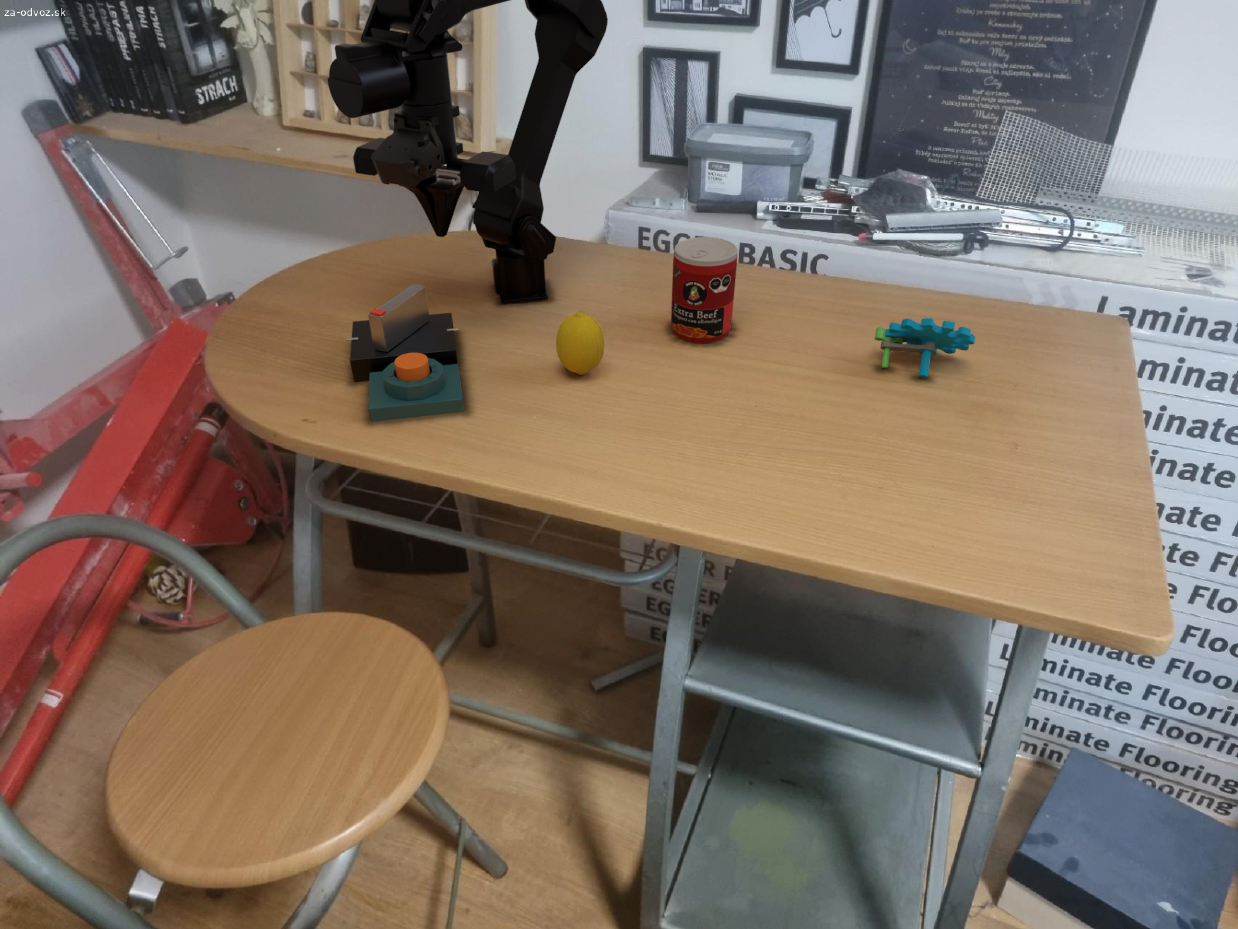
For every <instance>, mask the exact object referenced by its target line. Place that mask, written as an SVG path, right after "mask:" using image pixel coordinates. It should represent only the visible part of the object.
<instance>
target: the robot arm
mask: <svg viewBox="0 0 1238 929" xmlns="http://www.w3.org/2000/svg"><path fill="white" fill-rule="evenodd" d="M510 1H511V0H374V1H373V4H372V7H371V9H370V12H369V15H368V17H367V20H366V22H365V25H364V28H363V30H362V33H361V36H360V42H359V43H353V44H352V43H340V44H336V45H335V46H334V53H335V58H334V59H333V60H332V61H331V63H330V65H329V69H328V70H329V71H328V77H327V86H328V90H329V93H330V96H331V98H332V100H333V103H334V104H335V106H336V107H337V109H338V110H339V111H340V113H341V114H343V115H344V116H345V117H347V118H349V119H356V118H361V117H365V116H368V115H372V114H373V115H374V114H377V113H381V112H386V111H389V110H394V109H398V108H399V109H400V110H399V111H395V112H394V113H393V132H392V133H391V134H389V135H387V136H386V137H385V138H384V137H378V138H375V139H372V140H370V141H368V142H365V143H364V144H361V145H358V146H357V147H356V148H355V150H354V153H353V156H352V160H353V161H352V162H353V166H354V172H355V174H360V175H366V176H373V177H374V176H377V175H378V177H379V179H380V182H381V183H382V184H383V185H390V184H391V185H397V186H398V187H399V186H400V187H403V188H404V189H407V190H408V191H409V192H411V193H412V194H413V195H414V196H415V198H416V199H417V201H418V202H419V205H420V206H421V208H422V209H423V212H424V214H425V216H426V218H427V220H428V222H429V224H430V226H431V228H432V229H433V232H434V234H435V236H436V237H438V238H439V237H440V238H444V237H446V236H447V235H448V232H449V229H450V226H451V223H452V220H453V216H454V213H455V211H456V207H457V206H458V202H459V200H460V197H461V195H462V192H463V190H464V188H465V189H466V191H472V192H477V197H476V199H475V201H474V203H473V204H472V206H471V208H472V209H473V210H474V212H473V217H472V223H473V225H474V226H475V227H474V228H475V231H476V232H477V234H478V235H479V236H480V238H481V240H482V243H483V245H484V247H485V248H487V249H492V250H495V251H494V252H495V258H492V260H491V266H492V278H493V279H492V280H493V289H494V292H495V294H496V295H498V297H499V299H500V300H499V301H500V303H501V304H513V303H514V304H515V303H523V302H534V301H545V300H548V299H549V293H548V290H547V287H546V286H547V285H546V267H545V260H546V259H548V257H549V255H551V254H553V253H554V252H555V247H556V241H557V236H556V235H554V233H553V232H551V230H549V229H548V228H547V227H546V226H545V225H544V224H543V223H542V219H543V215H544V210H545V207H544V202H543V196H542V189H541V181H542V178H543V175H544V173H545V170H546V166H547V163H548V160H549V157H550V154H551V152H552V148H553V145H554V142H555V139H556V136H557V132H558V130H559V126H560V123H561V120H562V117H563V115H564V112H565V109H566V105H567V102H568V99H569V97H570V95H571V94H570V93H571V90H572V87H573V84H574V83H575V82H574V81H575V78H576V76H577V74H578V73H579V72H580V70H582V69H583V68H584V67H585V66H586V65H587V64H588V63H589V62H591V61H592V59H593V58H594V57H595V56H596V54H597V52H598V49H599V48H600V45H601V43H602V41H603V39H604V37H605V34H606V32H607V28H608V24H609V23H608V21H609V19H608V14H607V11H606V9H605V6H604V4H603V1H602V0H524V4H525V7H526V10H527V11H529V13H530V14H531V15H532V16H533V17H534V19H535V20H536V25H535V30H534V39H535V44H536V50H537V56H538V60H537V64H536V66H535V67H536V68H535V70H534V73H533V76H532V79H531V82H530V84H529V88H528V91H527V95H526V98H525V101H524V104H523V107H522V110H521V113H520V116H519V119H518V122H517V126H516V129H515V133H514V135H513V138H512V141H511V144H510V146H509V151H508V153H507V154H505V153H497V152H490V151H481V152H478V153H477V154H475V155H473V156H472V157H469V158H467V159H466V158H459V157H458V156H459V155H460V154H462V153H464V145H463V142H457V138H456V126H455V118H456V117H460V116H461V114H460V106H459V105H455V104H453V99H452V89H451V88H452V87H451V80H450V79H451V78H450V70H449V60H448V54H453V53H457V52H461V51H462V50H463V44H462V43H461V42H459V40H457V39H456V38H455V37H453V36H452V34H451V33H450V32H449V30H450V29H452V28H453V27H456V26H457V25H459V24H460V23H461V22H462V20H463V19H464V18H465V16H466V15H468V14H469V13H471V12H473V11H476V10H480V9H484V8H488V7H491V6H495V5H499V4H502V3H506V2H510ZM392 29H393V30H392Z"/></svg>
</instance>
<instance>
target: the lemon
mask: <svg viewBox="0 0 1238 929" xmlns="http://www.w3.org/2000/svg"><path fill="white" fill-rule="evenodd" d="M604 337H605V336H604V333H603V330H602V327H601V325H600V323H599V322H598V321H597V320H596V318H594V317H593V316H591V315H589V314H587V313H584V312H582V311H577V312H576V313H573V314H570V315H568V316H567V317H566V318H564V320H562V322H561V323H560V324H559V327H558V329H557V333H556V337H555V338H556V339H555V346H556V347H555V348H556V353H557V357H558V359H559V361H560V363H561V365H562V366H563V367H564V368H565V369H567V370H568V371H570V372H571V373H576V374H577V375H579V376H583V375H584V374H586V373H589V372H591V371H593V370H594V369H596V367H598V366H599V364H600V362H601V361H602V359H603V356H604V354H605V353H604V352H605V338H604Z"/></svg>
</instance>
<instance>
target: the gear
mask: <svg viewBox="0 0 1238 929" xmlns="http://www.w3.org/2000/svg"><path fill="white" fill-rule="evenodd" d="M934 321H935V320H934V318H932V317H924V318H921V320H920V323H919V322H917V321H915V320H913V319H912V318H904V319H902V320H901V323H898V322H890V323H889V327H888V328H884V327H880V326H879V327H876V328H875V335H874V340H875V341H877V342H880V346H879V348H880V349H881V350H882V351H883V352H882V360H881V366H880V367H881V368H882V369H888V368H889V361H890V355H891V352H900V353H901V352H902V353H913V354H915V353H916V354H921V356H920V363H919V368H918V369H919V370H918V377H919V378H922V379H927V378H928V377H929V370H930V364H931V359H932V358H931V357H932V355H935V354H937V352H938V350H939V351H941V352H944V353H945V354H948V355H950V354H955V353H956V352H957V350H960V351H966V352H967V351H968V350H969V349H970V345H971V346H972V345H975V343H976V335H975V334H973V333H971V330H972V329H971V328H969V327H966V326H959V327H958V329H957V330H955V325H956V322H955V321H950V320H943V321H942V323H941V324H942V325H941V326H940V325H937V324H936V323H935V322H934Z"/></svg>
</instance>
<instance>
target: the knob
mask: <svg viewBox="0 0 1238 929" xmlns="http://www.w3.org/2000/svg"><path fill="white" fill-rule="evenodd" d="M426 289H427V288H426V286H424V285H420V284H414V283H413V284H411V285H410V286H408V287H406V288H404V290H402V291H401V292H399V293H398V294H396V295H394V296H393V297H392V298H390V299H389V300H387V301H386V302H384V303H383V304H381V305H380V306H378V307H377V308H374V309H372V310H370V311H369V313H368V314H367V316H368V320H369V323H370V328H371V334H372V339H373V345H374V350H378V351H383V352H388V351H390V350H391V349H392V348H394V347H395V346H396V345H398V344H399V343H400V342H402V341H403V340H404V339H406V338H407V337H408V336H410V335H411V334H412V333H414V332H415V331H416V330H418V329H419V328H420V327H422V326H423V325H424V324H426V323H427V322H428V321H430V317H429V315H430V310H429V304H428V295H427V290H426Z"/></svg>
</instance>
